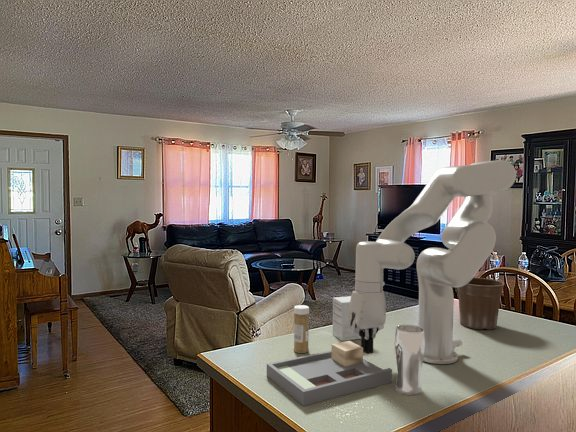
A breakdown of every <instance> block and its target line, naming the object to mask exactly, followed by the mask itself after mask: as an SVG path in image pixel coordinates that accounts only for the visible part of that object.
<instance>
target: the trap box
mask: <svg viewBox="0 0 576 432" xmlns="http://www.w3.org/2000/svg"><path fill="white" fill-rule="evenodd" d="M266 377H268V378H269V379H270V380H271V381H272V382H274V383H275V384H276V385H277V386H278V387H279V388H280V389H282V390H283V391H284V392H286V393H287V394H288V395H289V396H291V398H293V399H294V400H295V401H296V402H298V403H299V404H300V405H301V406H303V407H305V406H309V405H313V404H316V403H320V402H323V401H328V400H331V399H334V398H338V397H342V396H346V395H350V394H352V393H357V392H360V391H363V390H368V389H370V388H374V387H375V388H376V387H378V386H384V385H386V384H390V383H393V369H392V368H390V367H388V368H384V369H383V368H381V367H379V366H377V365H375V364H373V363H371V362H370V361H367V360H365V359H364V358H363V362H362V363H357V364H353V365H349V366H343V365H342V364H340V363H338V362H336V361H335V360H333V359H332V349H331V350H326V351H321V352H316V353H312V354H307V355H302V356H298V357H293V358H289V359H288V358H287V359H283V360H279V361H274V362H273V361H272V362H269V363H266Z"/></svg>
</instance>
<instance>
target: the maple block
mask: <svg viewBox="0 0 576 432" xmlns="http://www.w3.org/2000/svg"><path fill="white" fill-rule="evenodd" d="M331 350H332V359H333V360H335V361H336V362H338V363H340V364H342V365H343V366H349V365H353V364H357V363H362V362H363V359H364V352H363V347H361V345H359V344H357V343H355V342H353V341H352V340H347V341H340V342H335V343H332V344H331Z"/></svg>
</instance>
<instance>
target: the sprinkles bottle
mask: <svg viewBox="0 0 576 432" xmlns="http://www.w3.org/2000/svg"><path fill="white" fill-rule="evenodd" d="M293 313H294V314H293V315H294V316H293V317H294V319H293V344H294V345H293V347H294V348H293V351H294V352H295V353H296V354H306V353H308V352H309V349H310V348H309V340H310V339H309V334H310V333H309V330H310V329H309V328H310V327H309V315H310V306H308V305H305V304H299V305H294V307H293Z"/></svg>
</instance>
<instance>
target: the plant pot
mask: <svg viewBox="0 0 576 432" xmlns="http://www.w3.org/2000/svg"><path fill="white" fill-rule="evenodd" d="M504 286H505V282H503V281H501V280H497V279H492V278H491V279H490V278H484V277H473V278H472V280H471V281H470V282H469V283H468V284H466V285H464V286H462V287H456V291H457V292H458V293H457V295H458V308H459V323H460V324H461V325H462V326H463V327H466V328H469V329H472V330H473V329H474V330H484V329H486V330H488V331H489V330H495V329H497V327H498V326H497V325H498V319H499V318H498V316H499V309H500V304H501V296H502V295H503V287H504Z"/></svg>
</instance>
